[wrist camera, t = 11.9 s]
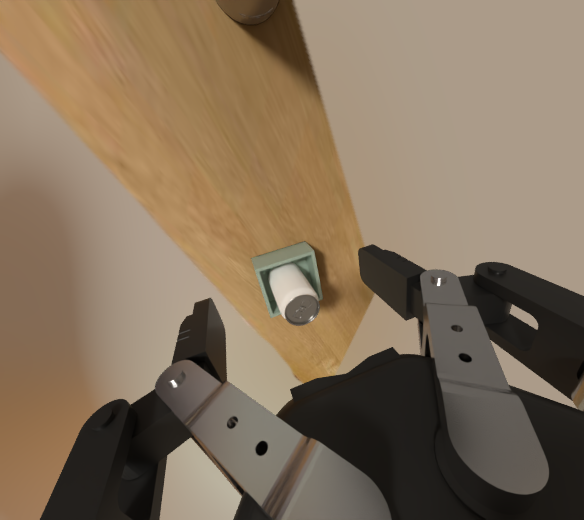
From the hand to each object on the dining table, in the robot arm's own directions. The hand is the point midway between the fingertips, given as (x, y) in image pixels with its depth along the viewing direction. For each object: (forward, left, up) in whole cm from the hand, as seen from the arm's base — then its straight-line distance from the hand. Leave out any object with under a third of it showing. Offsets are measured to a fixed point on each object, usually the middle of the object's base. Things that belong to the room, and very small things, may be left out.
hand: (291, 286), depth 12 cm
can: (+17, +3, -30) cm, 34 cm away
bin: (+17, +4, -30) cm, 35 cm away
